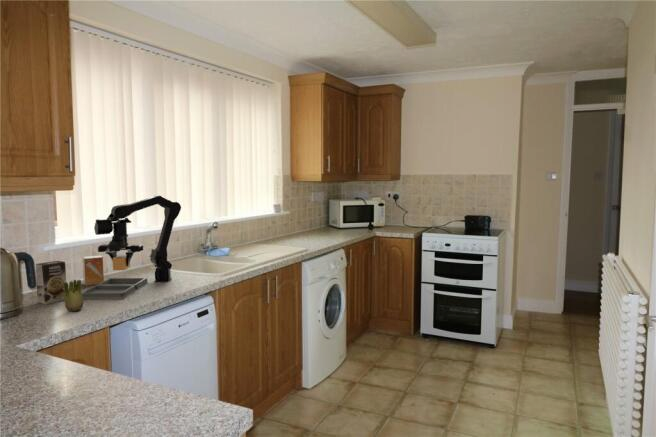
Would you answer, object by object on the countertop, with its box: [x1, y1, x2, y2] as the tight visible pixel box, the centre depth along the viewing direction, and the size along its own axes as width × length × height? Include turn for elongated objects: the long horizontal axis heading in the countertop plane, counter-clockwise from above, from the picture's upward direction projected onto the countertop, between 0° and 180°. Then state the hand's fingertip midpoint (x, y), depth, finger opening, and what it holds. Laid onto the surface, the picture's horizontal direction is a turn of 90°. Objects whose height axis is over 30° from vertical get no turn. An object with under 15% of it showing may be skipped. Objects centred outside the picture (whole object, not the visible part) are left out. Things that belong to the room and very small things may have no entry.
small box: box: [82, 255, 105, 287], centre depth 224 cm, size 8×6×13 cm
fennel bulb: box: [64, 279, 84, 312], centre depth 181 cm, size 6×5×12 cm
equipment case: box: [95, 277, 149, 291], centre depth 219 cm, size 18×14×2 cm
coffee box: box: [35, 260, 67, 305], centre depth 194 cm, size 9×6×16 cm
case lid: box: [81, 285, 137, 300], centre depth 205 cm, size 18×15×2 cm
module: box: [111, 254, 131, 271], centre depth 218 cm, size 5×7×6 cm
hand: (121, 266), depth 218 cm, fingers closed on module, 5 cm apart
